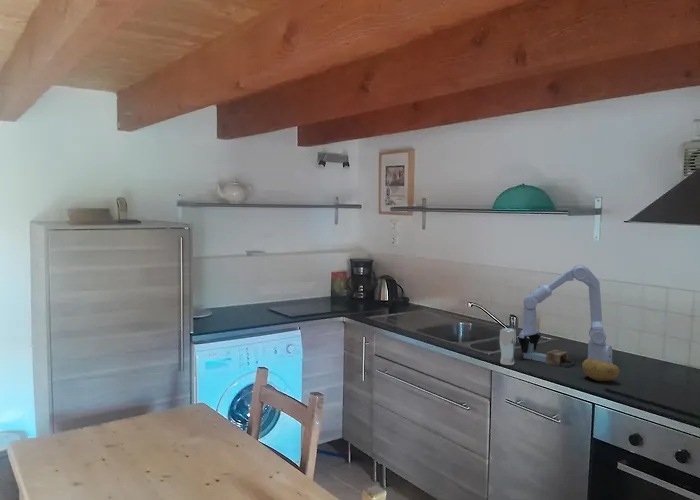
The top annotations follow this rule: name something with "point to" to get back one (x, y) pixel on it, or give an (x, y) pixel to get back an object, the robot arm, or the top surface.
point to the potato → (600, 370)
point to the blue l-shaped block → (534, 354)
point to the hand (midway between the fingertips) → (528, 351)
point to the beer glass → (507, 345)
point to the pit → (567, 364)
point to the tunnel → (556, 357)
